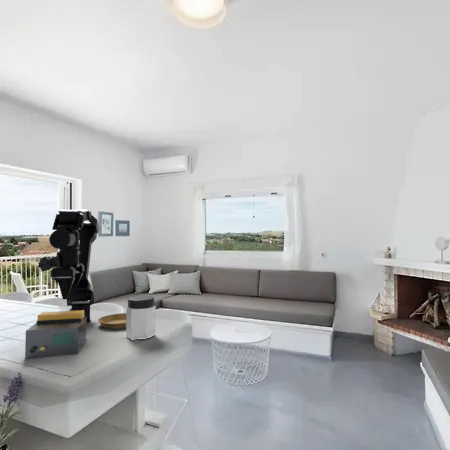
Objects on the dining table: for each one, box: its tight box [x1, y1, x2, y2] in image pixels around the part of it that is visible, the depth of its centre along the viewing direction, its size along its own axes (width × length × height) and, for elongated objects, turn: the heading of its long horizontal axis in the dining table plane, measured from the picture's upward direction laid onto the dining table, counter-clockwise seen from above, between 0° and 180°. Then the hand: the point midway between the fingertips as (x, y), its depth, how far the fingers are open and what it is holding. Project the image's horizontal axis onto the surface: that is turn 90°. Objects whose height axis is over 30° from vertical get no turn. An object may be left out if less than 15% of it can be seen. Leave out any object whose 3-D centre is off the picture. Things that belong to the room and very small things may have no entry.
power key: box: [37, 310, 84, 321], centre depth 91 cm, size 4×11×2 cm, turn 104°
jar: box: [125, 295, 157, 340], centre depth 99 cm, size 9×8×12 cm
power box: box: [24, 314, 87, 359], centre depth 88 cm, size 13×12×8 cm
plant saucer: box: [97, 312, 127, 330], centre depth 113 cm, size 15×15×3 cm
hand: (68, 296), depth 102 cm, fingers open, 9 cm apart
